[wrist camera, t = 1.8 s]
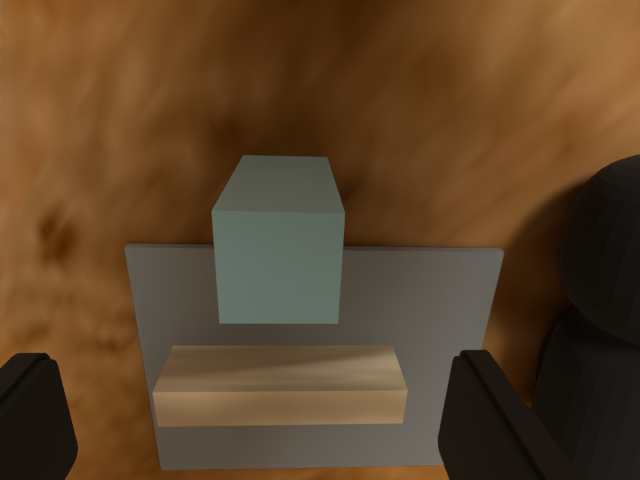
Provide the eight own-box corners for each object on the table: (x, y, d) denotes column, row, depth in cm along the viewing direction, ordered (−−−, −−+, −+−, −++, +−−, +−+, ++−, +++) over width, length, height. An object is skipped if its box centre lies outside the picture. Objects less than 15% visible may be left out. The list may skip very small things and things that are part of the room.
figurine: (725, 481, 25) (878, 154, 17) (652, 576, 21) (809, 204, 13) (570, 389, 33) (627, 132, 25) (494, 446, 28) (532, 159, 20)
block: (243, 154, 22) (211, 211, 14) (327, 157, 22) (345, 213, 14) (246, 232, 24) (219, 323, 16) (323, 233, 24) (338, 323, 16)
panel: (127, 243, 24) (124, 247, 23) (500, 248, 25) (504, 252, 24) (163, 463, 31) (161, 470, 30) (451, 457, 32) (454, 464, 32)
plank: (173, 345, 26) (152, 392, 22) (392, 345, 27) (407, 390, 23) (176, 376, 27) (157, 426, 23) (388, 375, 28) (402, 423, 24)
